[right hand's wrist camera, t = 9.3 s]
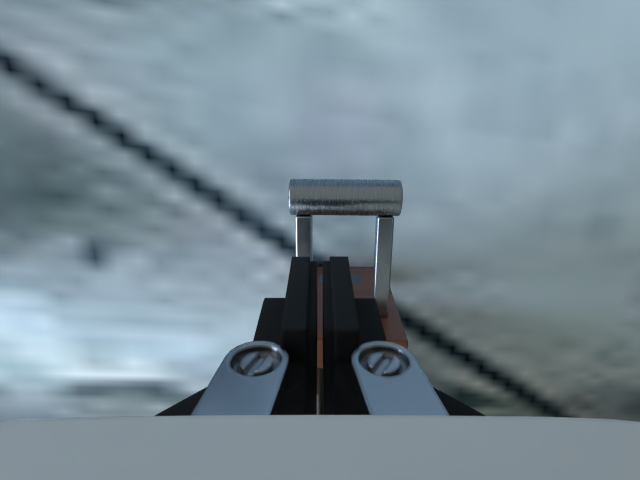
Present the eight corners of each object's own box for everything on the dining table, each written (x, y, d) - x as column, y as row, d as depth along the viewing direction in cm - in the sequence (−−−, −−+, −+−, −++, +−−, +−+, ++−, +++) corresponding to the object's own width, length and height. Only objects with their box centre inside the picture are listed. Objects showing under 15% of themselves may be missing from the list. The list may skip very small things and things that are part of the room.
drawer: (294, 162, 20) (275, 189, 13) (389, 163, 20) (420, 190, 13) (299, 496, 26) (287, 634, 19) (370, 498, 26) (385, 638, 19)
